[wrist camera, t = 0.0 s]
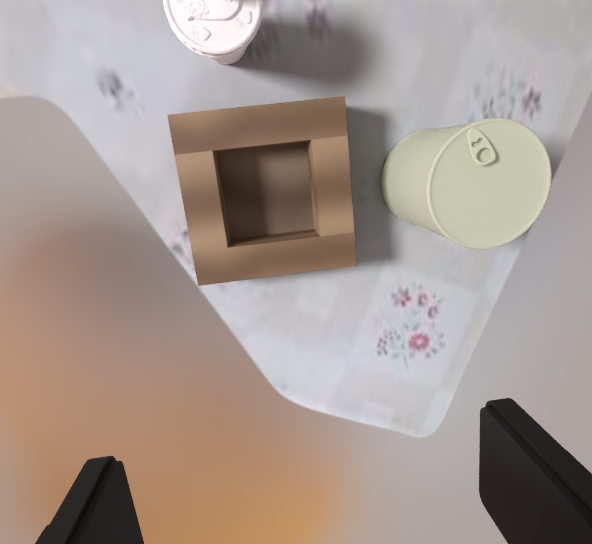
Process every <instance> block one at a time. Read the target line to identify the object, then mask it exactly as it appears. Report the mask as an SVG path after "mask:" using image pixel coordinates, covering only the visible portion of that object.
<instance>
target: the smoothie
mask: <svg viewBox="0 0 592 544" xmlns="http://www.w3.org/2000/svg"><path fill="white" fill-rule="evenodd" d="M163 3H164V9H165V12H166V15H167V18H168V20H169V23H170V25H171V28H172V29H173V31H174V32H175V34H176V35H177V37H178V38H179V40H180V41H182V42H183V43H184V44H185V45H186V46H187V47H188V48H189V49H191V50H193V51H195V52H197V53H198V54H200V55H203V56H208V57H210V58H212V59H213V60H215V61H216V62H218V63H221V64H232V63H235V62H237V61H238V60H239V59H240V58H241V57H242V56H243V55H244V53H245V50H246V48H247V46H248V45H249V43H250V42H251V41H252V39H253V38H254V37H255V35H256V34H257V31H258V29H259V26H260V24H261V19H262V12H263V3H262V0H163Z"/></svg>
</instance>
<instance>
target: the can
mask: <svg viewBox="0 0 592 544" xmlns="http://www.w3.org/2000/svg"><path fill="white" fill-rule="evenodd" d="M551 177H552V172H551V163H550V159H549V156H548V153H547V150H546V148H545V146H544V144H543V143H542V141H541V140H540V138H539V137H538V136H537V135H536V134H535V133H534V132H533V131H532V130H531V129H529V128H528V127H526V126H525V125H523V124H521V123H519V122H517V121H513V120H510V119H504V118H489V119H483V120H480V121H477V122H474V123H470V124H465V125H459V126H454V127H448V128H442V129H424V130H420V131H416V132H414V133H412V134H410V135H408V136H406V137H405V138H403V139H402V140H401V141H400V142H399V143H398V144H397V145H396V146H395V147H394V148H393V149H392V151H391V152H390V154H389V155H388V157H387V159H386V161H385V164H384V167H383V171H382V177H381V187H382V193H383V197H384V199H385V202H386V204H387V206H388V207H389V209H390V210H391V211H392V213H393V214H394V215H395V216H397V217H398V218H399V219H400V220H402V221H404V222H406V223H408V224H411V225H414V226H420V227H423V228H425V229H427V230H430V231H432V232H434V233H437V234H439V235H441V236H443V237H446V238H448V239H449V240H451V241H452V242H454V243H456V244H458V245H461V246H463V247H467V248H471V249H490V248H495V247H499V246H502V245H505V244H507V243H509V242H511V241H513V240H515V239H516V238H518V237H519V236H521V235H522V234H523V233H524V232H526V231H527V230H528V229H529V228H530V227H531V226H532V225H533V223H534V222H535V221H536V219H537V218H538V217H539V215H540V214H541V212H542V210H543V208H544V206H545V204H546V201H547V199H548V196H549V192H550V187H551Z"/></svg>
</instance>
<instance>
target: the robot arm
mask: <svg viewBox="0 0 592 544" xmlns="http://www.w3.org/2000/svg"><path fill="white" fill-rule="evenodd" d="M479 466H480V467H479V493H480V497H481V500H482V503H483V505H484V507H485V508H486V510H487V512H488V513H489V515H490V516H491V518H492V519H493V521H494V522H495V524H496V526H497V527H498V529H499V530H500V532H501V533H502V534H503V536H504V538H505V539H506V541H507V543H508V544H592V474H591V473H590V472H589V471H588V470H587V469H586V468H585V467H584V466H583V465H582V464H580V462H578V461H577V460H576V459H575V458H574V457H573V456H572V455H571V454H570V453H569V452H568V451H567V450H565V449H564V448H563V447H562V446H561V445H560V444H559V443H558V442H557V441H556V440H555V439H553V438H552V437H551V436H550V435H549V434H548V433H547V432H546V431H545V430H544V429H543V428H542V427H541V426H540V425H539V424H538V423H537V422H536V421H535V420H534V419H533V418H532V417H531V416H529V415H528V414H527V413H526V412H525V411H524V410H523V409H522V408H521V407H520V406H519V405H518V404H517V403H516V402H515V401H514V400H512V399H511V398H506V399H499V400H491V401H488V402H487V403H486V407H484V408H482V409H481V411H480V464H479ZM35 544H144V541H143V538H142V534H141V530H140V527H139V522H138V519H137V515H136V511H135V507H134V503H133V500H132V496H131V492H130V488H129V484H128V481H127V477H126V473H125V470H124V465H123V463H122V462H121V461H116V460H115V458H114V457H113V456H107V457H100V458H93V459H89V460H87V462H86V463H85V464H84V466H83V468H82V470H81V471H80V473H79V475H78V477H77V478H76V480H75V482H74V483H73V485H72V487H71V489H70V490H69V492H68V494H67V496H66V497H65V499H64V501H63V502H62V504H61V506H60V508H59V509H58V511H57V513H56V515H55V516H54V518H53V520H52V522H51V523H50V524H49V525H47V526H46V528H45V529H44V530H43V532H42V533H41V535H40V536H39V538H38V540H37V542H36V543H35Z"/></svg>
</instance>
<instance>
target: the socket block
mask: <svg viewBox="0 0 592 544" xmlns="http://www.w3.org/2000/svg"><path fill="white" fill-rule="evenodd" d="M168 121H169V126H170V132H171V137H172V143H173V148H174V154H175V159H176V165H177V171H178V176H179V182H180V187H181V193H182V198H183V204H184V209H185V215H186V221H187V226H188V232H189V237H190V243H191V248H192V254H193V259H194V265H195V270H196V276H197V282H198V286H200V285H208V284H216V283H224V282H231V281H239V280H247V279H255V278H263V277H271V276H279V275H287V274H295V273H303V272H310V271H318V270H326V269H334V268H342V267H350V266H357V261H356V247H355V233H354V219H353V205H352V190H351V176H350V162H349V148H348V134H347V120H346V106H345V96H342V97H333V98H323V99H314V100H304V101H295V102H286V103H276V104H267V105H257V106H248V107H238V108H229V109H220V110H210V111H201V112H191V113H182V114H172V115H168Z"/></svg>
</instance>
